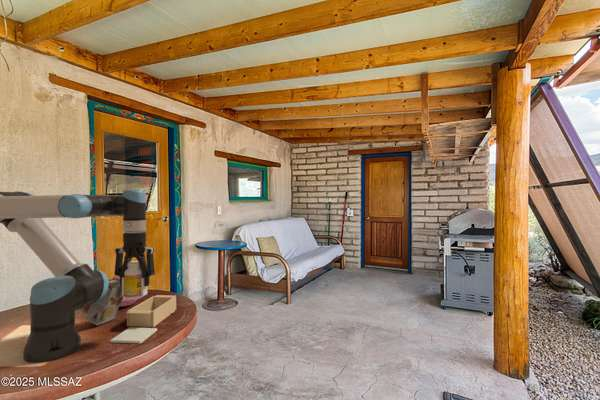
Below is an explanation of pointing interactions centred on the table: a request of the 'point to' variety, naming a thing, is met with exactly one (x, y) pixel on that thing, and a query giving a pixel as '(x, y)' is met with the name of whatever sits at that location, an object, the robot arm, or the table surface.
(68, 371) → the table surface
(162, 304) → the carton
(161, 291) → the table surface
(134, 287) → the supplement bottle
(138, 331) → the plate
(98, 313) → the coffee box
